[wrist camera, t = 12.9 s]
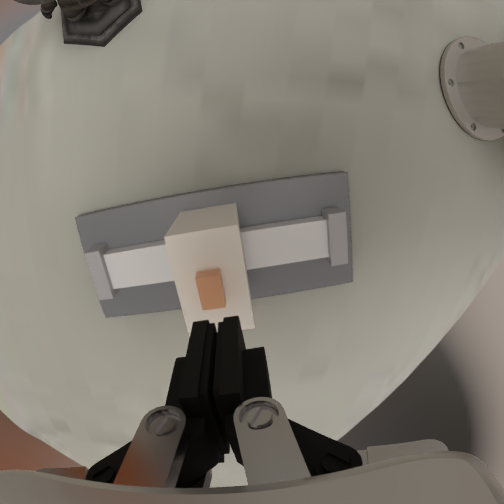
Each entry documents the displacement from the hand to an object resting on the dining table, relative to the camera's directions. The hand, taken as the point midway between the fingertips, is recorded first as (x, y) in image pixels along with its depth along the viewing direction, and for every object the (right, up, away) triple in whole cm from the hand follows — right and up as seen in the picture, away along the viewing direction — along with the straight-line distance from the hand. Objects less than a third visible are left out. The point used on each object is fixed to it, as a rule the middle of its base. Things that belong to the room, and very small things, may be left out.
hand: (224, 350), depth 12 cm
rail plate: (-2, +4, +19) cm, 20 cm away
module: (-2, +4, +18) cm, 19 cm away
